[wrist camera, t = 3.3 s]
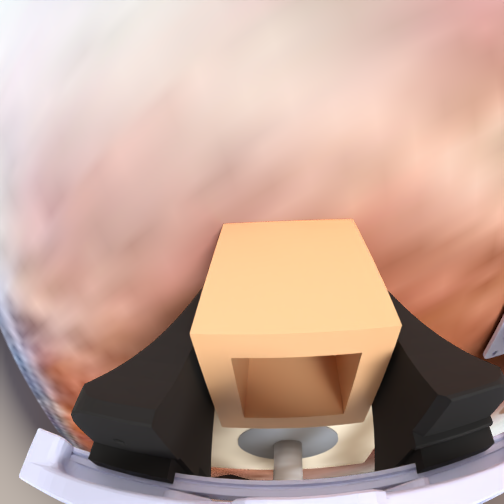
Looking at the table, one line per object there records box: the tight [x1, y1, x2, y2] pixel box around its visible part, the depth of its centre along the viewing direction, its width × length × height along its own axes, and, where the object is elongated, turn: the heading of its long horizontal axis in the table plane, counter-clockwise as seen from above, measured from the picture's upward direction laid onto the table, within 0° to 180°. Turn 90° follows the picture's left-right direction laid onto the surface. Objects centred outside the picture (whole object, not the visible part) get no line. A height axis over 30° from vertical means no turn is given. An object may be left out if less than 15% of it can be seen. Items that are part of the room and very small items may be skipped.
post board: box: [211, 405, 375, 480], centre depth 19 cm, size 16×16×6 cm
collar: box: [190, 219, 402, 429], centre depth 11 cm, size 5×5×6 cm
